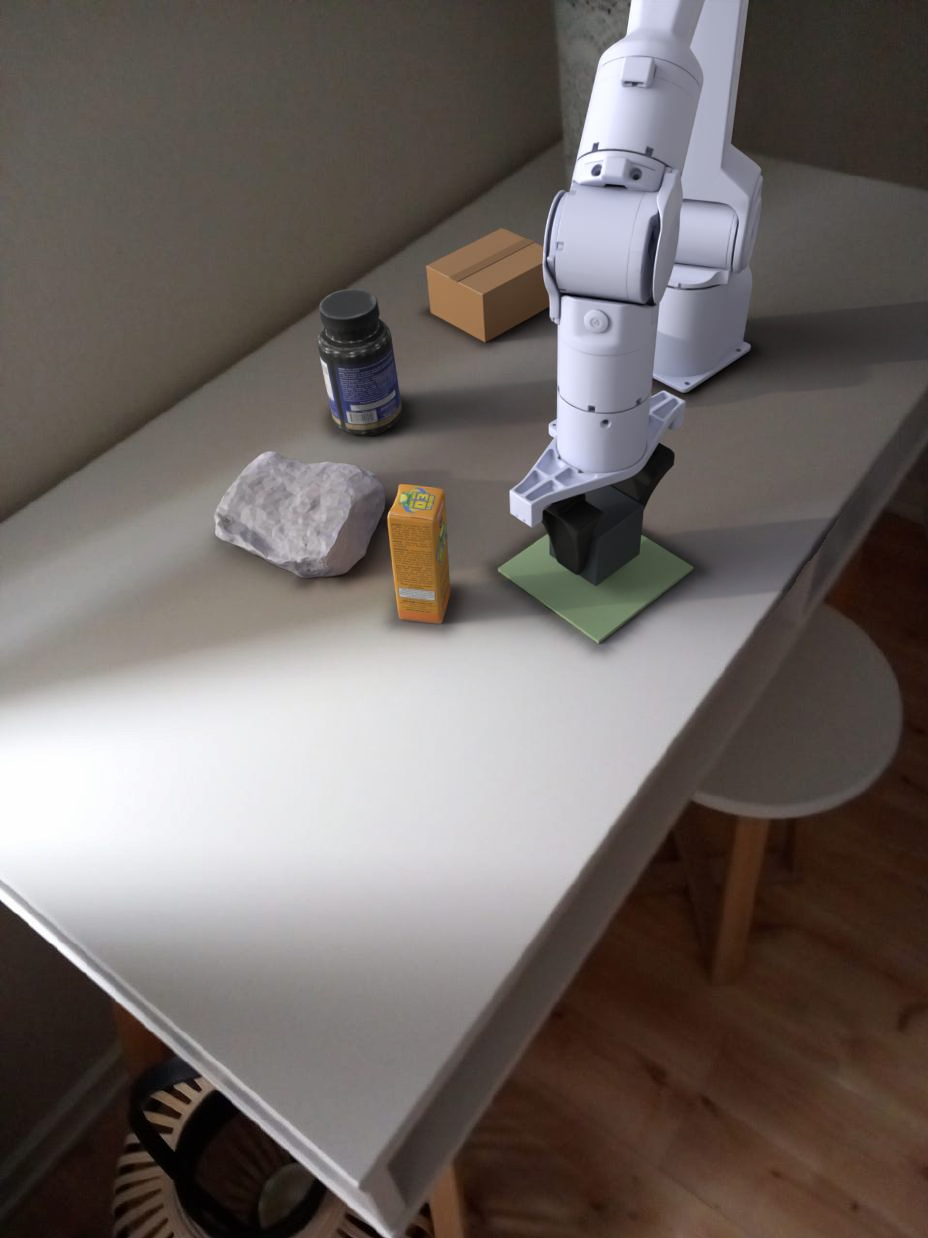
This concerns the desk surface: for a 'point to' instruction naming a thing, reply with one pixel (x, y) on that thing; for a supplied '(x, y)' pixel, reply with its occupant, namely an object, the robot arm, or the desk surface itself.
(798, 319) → the desk surface
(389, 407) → the pill bottle
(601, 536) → the small box
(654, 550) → the mat
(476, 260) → the storage box
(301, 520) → the stone block
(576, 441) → the robot arm
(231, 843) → the desk surface
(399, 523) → the supplement box
